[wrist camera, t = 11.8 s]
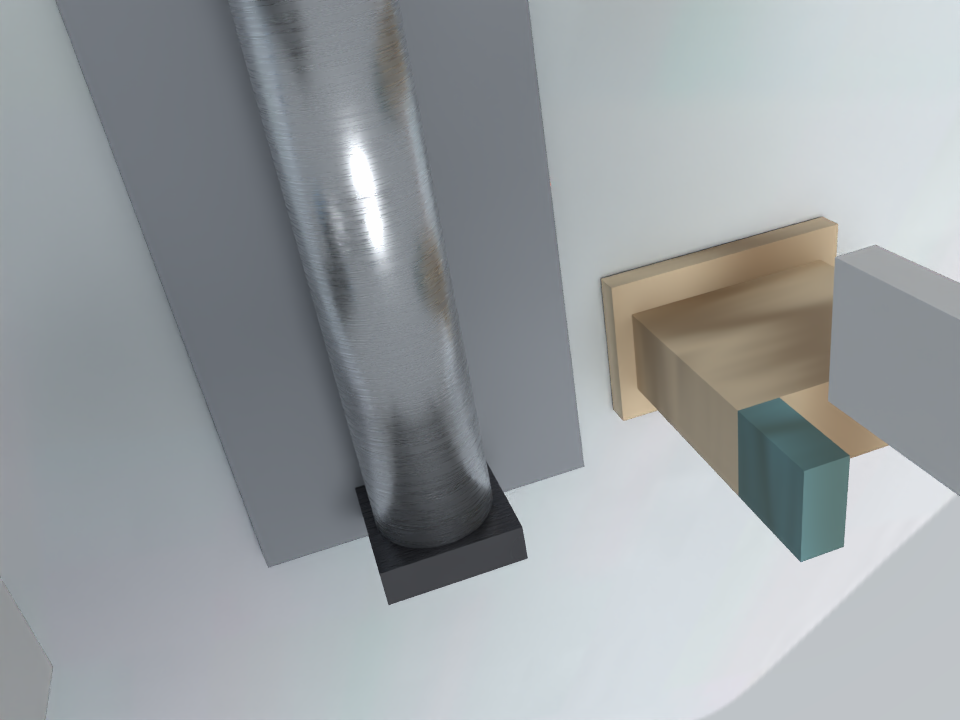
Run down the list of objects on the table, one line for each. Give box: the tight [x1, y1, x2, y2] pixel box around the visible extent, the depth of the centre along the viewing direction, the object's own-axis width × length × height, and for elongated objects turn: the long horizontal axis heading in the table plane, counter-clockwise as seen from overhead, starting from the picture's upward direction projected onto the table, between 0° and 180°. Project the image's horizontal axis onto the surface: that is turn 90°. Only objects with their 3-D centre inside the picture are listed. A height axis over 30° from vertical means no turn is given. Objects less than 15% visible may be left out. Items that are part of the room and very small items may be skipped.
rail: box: [228, 0, 528, 605], centre depth 22 cm, size 20×4×4 cm, turn 9°
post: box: [601, 217, 888, 562], centre depth 25 cm, size 8×5×10 cm, turn 99°
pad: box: [56, 0, 584, 567], centre depth 24 cm, size 11×22×1 cm, turn 9°
